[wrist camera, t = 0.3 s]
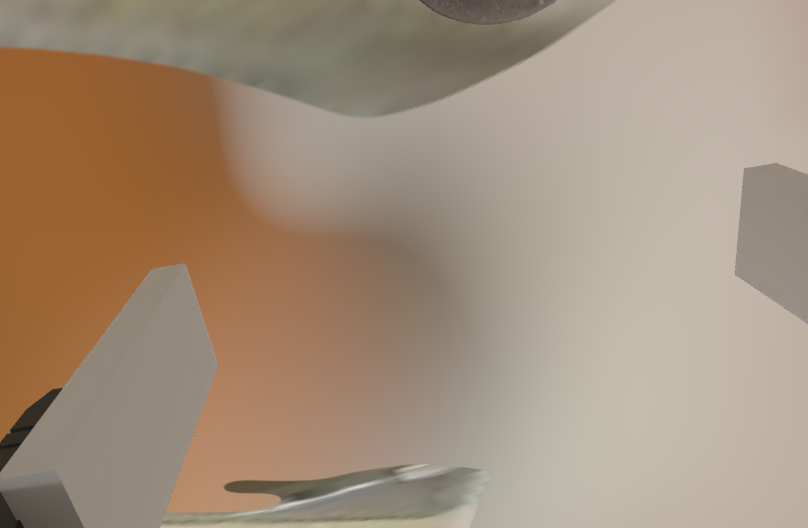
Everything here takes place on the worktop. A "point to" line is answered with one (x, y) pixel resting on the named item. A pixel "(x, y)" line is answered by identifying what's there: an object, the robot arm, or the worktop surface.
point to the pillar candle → (486, 9)
